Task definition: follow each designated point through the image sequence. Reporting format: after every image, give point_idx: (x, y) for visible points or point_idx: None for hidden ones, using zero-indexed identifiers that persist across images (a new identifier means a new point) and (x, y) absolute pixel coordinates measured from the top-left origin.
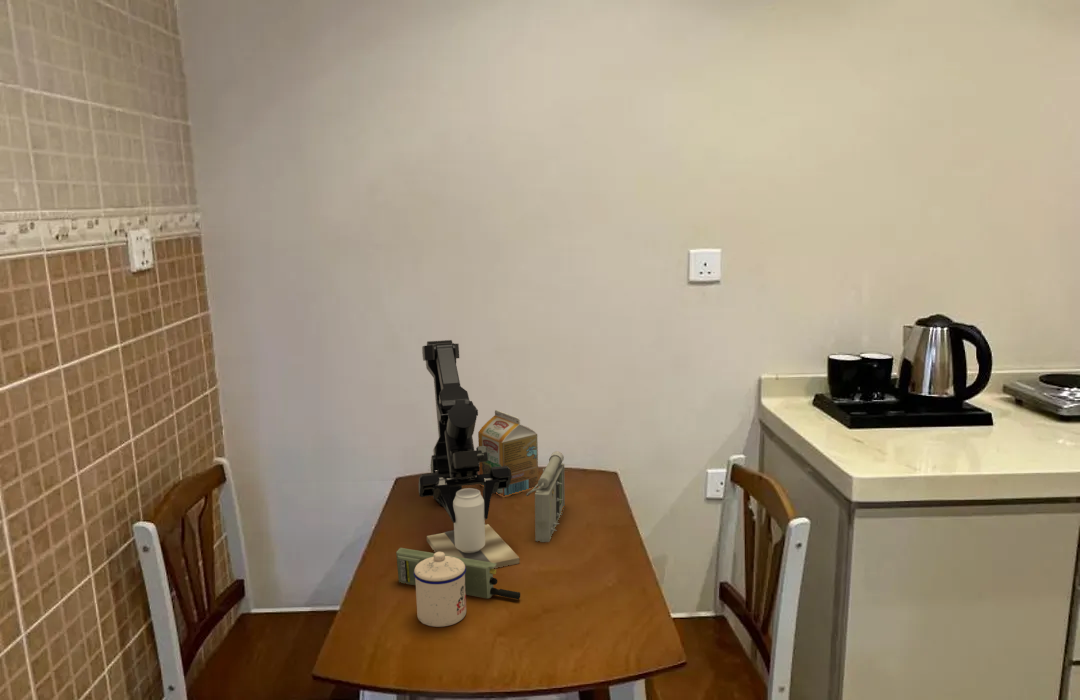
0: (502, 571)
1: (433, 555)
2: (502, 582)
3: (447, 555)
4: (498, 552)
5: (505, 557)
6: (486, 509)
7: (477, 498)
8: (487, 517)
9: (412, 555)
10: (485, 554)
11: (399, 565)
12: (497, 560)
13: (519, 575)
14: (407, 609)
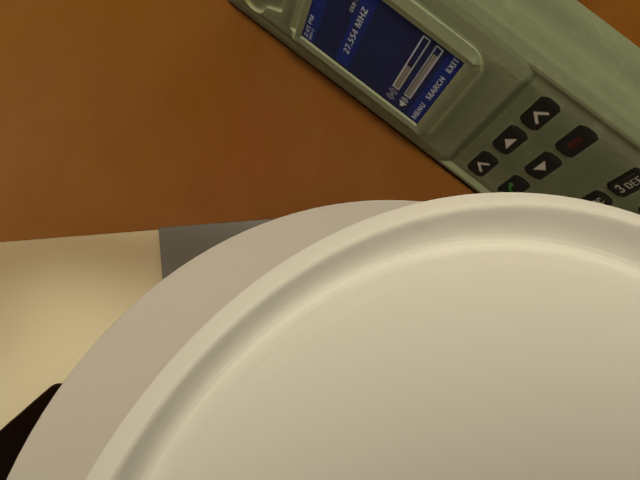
0: (98, 192)
1: (624, 67)
2: (144, 71)
3: (535, 20)
4: (42, 392)
5: (20, 289)
6: (12, 460)
7: (259, 271)
8: (56, 388)
9: None
10: None
11: None
12: (98, 259)
13: (10, 107)
14: None
